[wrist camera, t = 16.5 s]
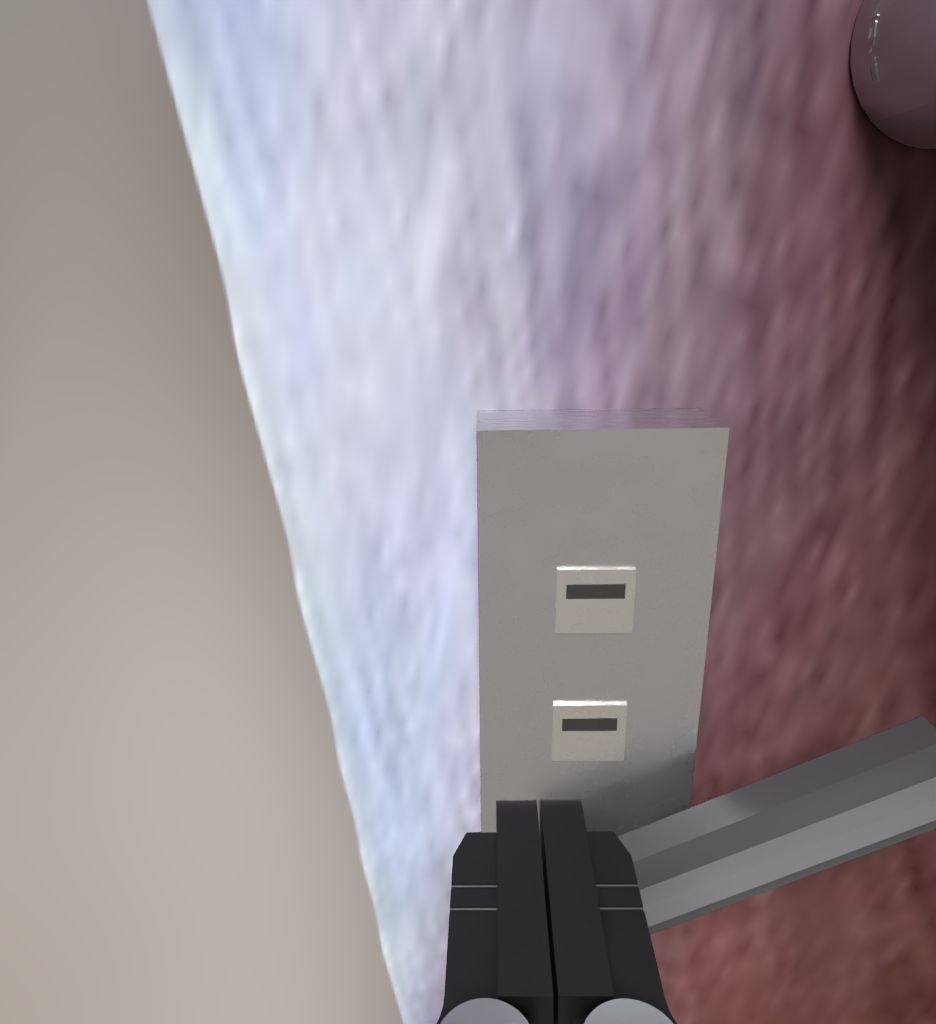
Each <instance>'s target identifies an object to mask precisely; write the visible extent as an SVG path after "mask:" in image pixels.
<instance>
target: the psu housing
mask: <svg viewBox="0 0 936 1024" xmlns="http://www.w3.org/2000/svg"><path fill="white" fill-rule="evenodd" d="M728 436H729V427H727V426H726V425H724V424H723V423H721V422H720V421H718V420H717V419H715V418H714V417H712V416H711V415H709V414H708V413H706V412H704V411H703V410H701V409H700V408H657V409H573V410H489V411H477V501H478V589H479V677H480V765H481V832H496V800H536V801H537V809H538V821H539V803H540V800H581V802H582V807H583V813H584V819H585V825H586V831H587V832H602V831H613V832H614V833H615V834H616V836H617V837H618V836H621V835H623V834H626V833H628V832H631V831H633V830H636V829H638V828H641V827H643V826H646V825H648V824H651V823H654V822H656V821H659V820H661V819H664V818H666V817H669V816H671V815H674V814H676V813H679V812H681V811H684V810H686V809H689V808H690V800H691V791H692V781H693V772H694V762H695V752H696V743H697V733H698V724H699V714H700V705H701V695H702V685H703V676H704V666H705V657H706V647H707V637H708V628H709V618H710V609H711V599H712V590H713V580H714V570H715V561H716V551H717V542H718V532H719V523H720V513H721V503H722V494H723V484H724V475H725V465H726V455H727V446H728Z"/></svg>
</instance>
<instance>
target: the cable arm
mask: <svg viewBox="0 0 936 1024" xmlns="http://www.w3.org/2000/svg"><path fill="white" fill-rule="evenodd" d="M933 829H936V729H935V728H934V727H933V726H932V725H931V724H930V723H929V722H928V721H927V720H926V718H925V717H924V716H920V717H918V718H915V719H913V720H910V721H908V722H905V723H903V724H900V725H898V726H895V727H893V728H890V729H888V730H885V731H883V732H880V733H878V734H875V735H872V736H870V737H867V738H865V739H862V740H860V741H857V742H855V743H852V744H850V745H847V746H845V747H842V748H840V749H837V750H835V751H832V752H830V753H827V754H825V755H822V756H820V757H817V758H815V759H812V760H810V761H807V762H805V763H802V764H799V765H797V766H794V767H792V768H789V769H787V770H784V771H782V772H779V773H777V774H774V775H772V776H769V777H767V778H764V779H762V780H759V781H757V782H754V783H752V784H749V785H747V786H744V787H742V788H739V789H737V790H734V791H732V792H729V793H727V794H724V795H721V796H719V797H716V798H714V799H711V800H709V801H706V802H704V803H701V804H699V805H696V806H694V807H691V808H689V809H686V810H684V811H681V812H679V813H676V814H674V815H671V816H669V817H666V818H664V819H661V820H659V821H656V822H654V823H651V824H648V825H646V826H643V827H641V828H638V829H636V830H633V831H631V832H628V833H626V834H623V835H621V836H618V838H619V840H620V841H621V842H622V844H623V845H624V846H625V848H626V849H627V850H628V852H629V853H630V854H631V856H632V861H633V865H634V869H635V873H636V878H637V882H638V888H639V890H640V895H641V899H642V903H643V911H644V912H645V916H646V920H647V924H648V929H649V933H650V934H652V933H655V932H657V931H660V930H663V929H666V928H668V927H671V926H674V925H676V924H679V923H682V922H685V921H687V920H690V919H693V918H695V917H698V916H701V915H703V914H706V913H709V912H712V911H714V910H717V909H720V908H722V907H725V906H728V905H730V904H733V903H736V902H739V901H741V900H744V899H747V898H749V897H752V896H755V895H758V894H760V893H763V892H766V891H768V890H771V889H774V888H776V887H779V886H782V885H785V884H787V883H790V882H793V881H795V880H798V879H801V878H803V877H806V876H809V875H812V874H814V873H817V872H820V871H822V870H825V869H828V868H831V867H833V866H836V865H839V864H841V863H844V862H847V861H849V860H852V859H855V858H858V857H860V856H863V855H866V854H868V853H871V852H874V851H876V850H879V849H882V848H885V847H887V846H890V845H893V844H895V843H898V842H901V841H904V840H906V839H909V838H912V837H914V836H917V835H920V834H922V833H925V832H928V831H931V830H933Z"/></svg>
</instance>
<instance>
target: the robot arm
mask: <svg viewBox="0 0 936 1024" xmlns="http://www.w3.org/2000/svg"><path fill="white" fill-rule="evenodd" d="M850 66H851V72H852V79H853V85H854V89H855V91H856V94H857V97H858V99H859V102H860V105H861V107H862V108H863V110H864V111H865V113H866V114H867V116H868V117H869V119H870V120H871V122H872V123H873V124H874V125H875V126H876V127H877V128H878V129H880V130H881V131H882V132H883V133H884V134H885V135H886V136H888V137H890V138H892V139H894V140H896V141H898V142H900V143H902V144H904V145H907V146H911V147H916V148H921V149H936V0H863V3H862V5H861V7H860V10H859V12H858V15H857V18H856V22H855V27H854V31H853V36H852V40H851V61H850ZM437 1024H677V1023H676V1022H675V1020H674V1018H673V1017H672V1015H671V1013H670V1011H669V1009H668V1007H667V1003H666V1000H665V997H664V993H663V988H662V984H661V980H660V975H659V971H658V967H657V963H656V958H655V954H654V950H653V946H652V941H651V937H650V933H649V929H648V924H647V920H646V916H645V912H644V911H643V903H642V899H641V895H640V890H639V888H638V882H637V878H636V873H635V869H634V865H633V861H632V856H631V854H630V853H629V852H628V850H627V849H626V848H625V846H624V845H623V844H622V842H621V841H620V840H619V838H618V837H617V836H616V834H615V833H614V832H613V831H602V832H587V831H586V825H585V819H584V813H583V807H582V802H581V800H540V803H539V821H538V809H537V801H536V800H496V832H474V833H466V835H465V836H464V838H463V840H462V842H461V843H460V845H459V847H458V849H457V851H456V852H455V854H454V856H453V868H452V889H451V900H450V917H449V933H448V949H447V965H446V981H445V997H444V1004H443V1009H442V1012H441V1015H440V1018H439V1020H438V1022H437Z"/></svg>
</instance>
